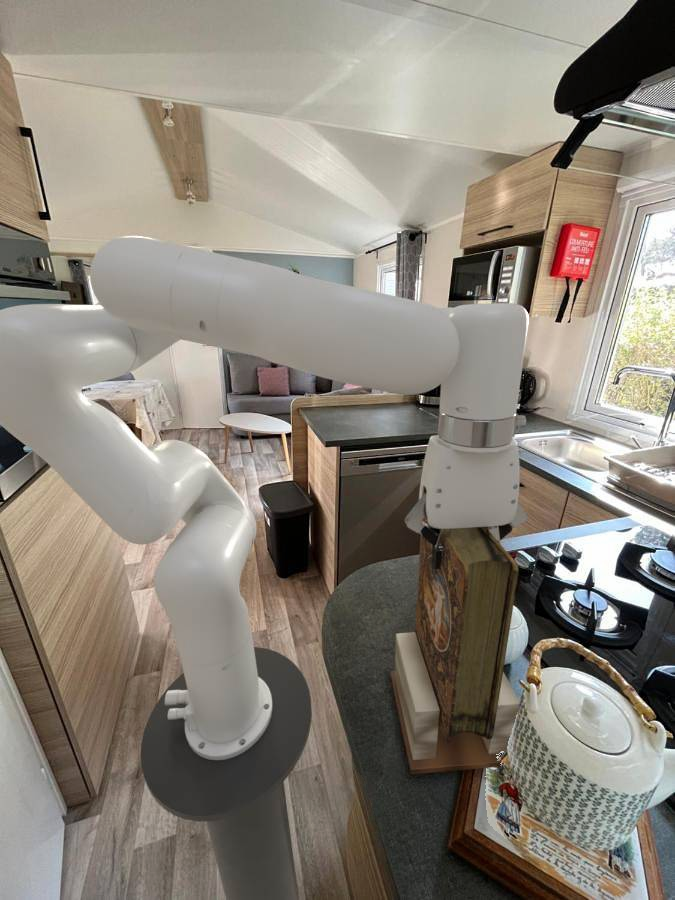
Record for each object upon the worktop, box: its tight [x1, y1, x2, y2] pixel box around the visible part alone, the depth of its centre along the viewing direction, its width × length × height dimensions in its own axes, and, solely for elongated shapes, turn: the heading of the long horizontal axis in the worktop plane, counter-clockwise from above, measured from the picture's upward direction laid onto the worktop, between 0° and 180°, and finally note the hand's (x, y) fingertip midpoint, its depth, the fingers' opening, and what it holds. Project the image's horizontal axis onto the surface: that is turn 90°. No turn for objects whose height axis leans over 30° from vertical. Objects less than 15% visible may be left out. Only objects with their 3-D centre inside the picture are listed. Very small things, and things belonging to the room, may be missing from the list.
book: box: [414, 515, 519, 743], centre depth 49 cm, size 16×6×25 cm, turn 4°
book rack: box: [389, 631, 520, 775], centre depth 54 cm, size 14×14×10 cm
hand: (460, 569), depth 46 cm, fingers closed on book, 4 cm apart
